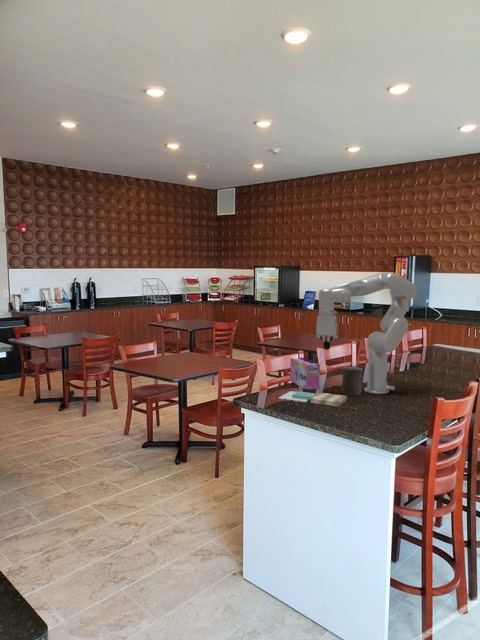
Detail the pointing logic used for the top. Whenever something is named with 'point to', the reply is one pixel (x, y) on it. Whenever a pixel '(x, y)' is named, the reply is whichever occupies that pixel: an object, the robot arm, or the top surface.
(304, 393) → the teal card
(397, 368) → the top surface
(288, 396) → the grey mat
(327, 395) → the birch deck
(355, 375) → the dark brown cylinder
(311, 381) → the pink purple printed box
